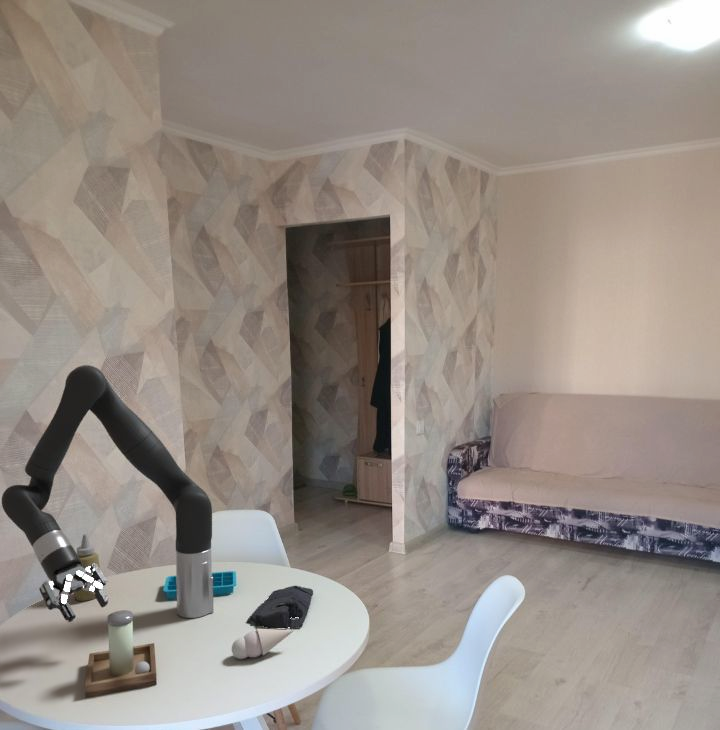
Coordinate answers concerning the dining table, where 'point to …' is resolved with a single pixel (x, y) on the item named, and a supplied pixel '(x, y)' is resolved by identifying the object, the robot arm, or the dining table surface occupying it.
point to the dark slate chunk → (283, 608)
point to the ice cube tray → (221, 584)
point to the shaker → (120, 642)
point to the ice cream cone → (258, 642)
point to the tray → (105, 683)
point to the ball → (142, 668)
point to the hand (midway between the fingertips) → (89, 612)
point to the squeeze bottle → (86, 565)
